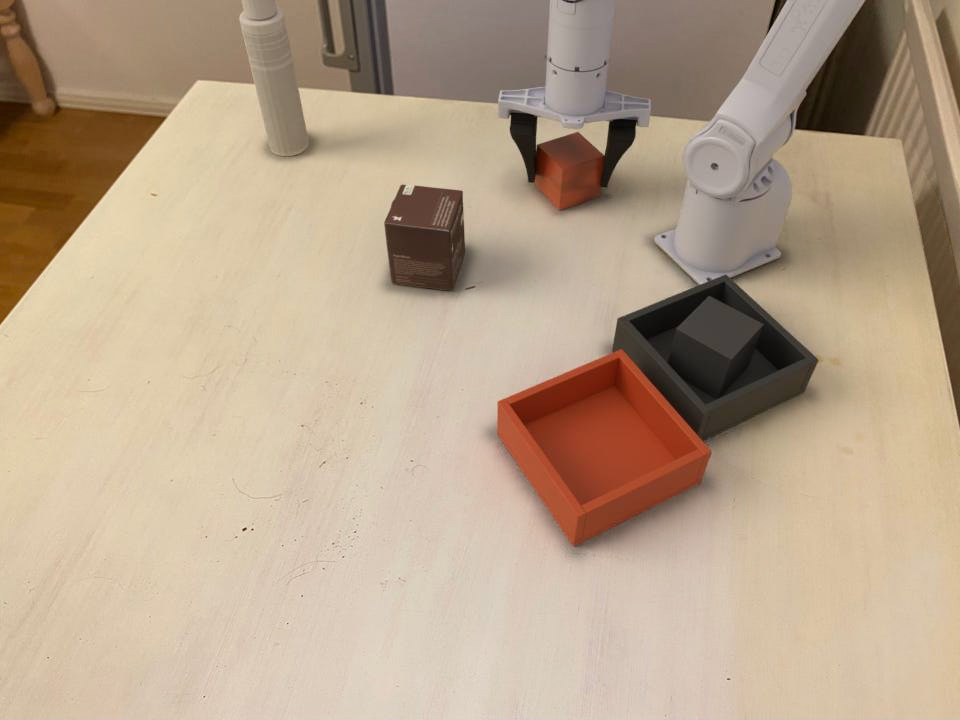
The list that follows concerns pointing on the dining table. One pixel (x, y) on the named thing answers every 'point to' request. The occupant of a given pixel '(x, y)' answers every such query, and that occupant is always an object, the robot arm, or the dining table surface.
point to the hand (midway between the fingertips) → (567, 179)
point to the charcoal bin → (760, 387)
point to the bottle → (274, 76)
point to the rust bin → (600, 445)
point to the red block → (569, 170)
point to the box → (425, 236)
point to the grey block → (714, 346)
